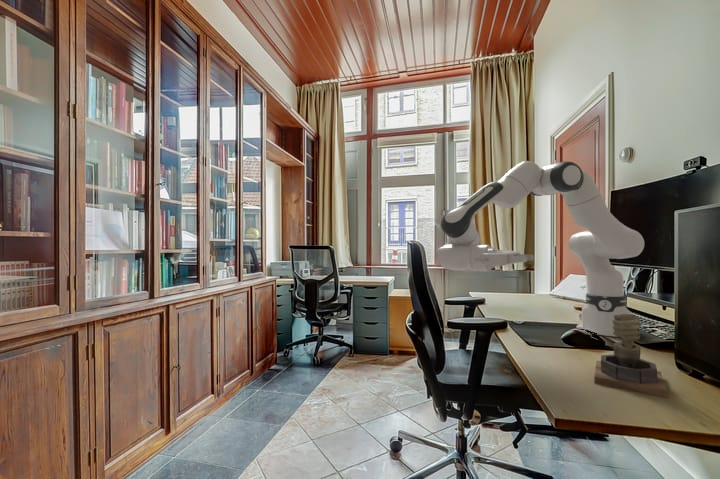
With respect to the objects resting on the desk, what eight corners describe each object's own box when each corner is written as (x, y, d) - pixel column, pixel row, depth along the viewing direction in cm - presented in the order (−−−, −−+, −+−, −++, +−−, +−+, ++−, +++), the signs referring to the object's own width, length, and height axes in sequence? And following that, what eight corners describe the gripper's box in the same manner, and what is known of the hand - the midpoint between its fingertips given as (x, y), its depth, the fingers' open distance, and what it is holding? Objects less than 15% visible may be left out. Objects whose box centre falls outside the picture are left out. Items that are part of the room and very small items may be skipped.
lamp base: (596, 366, 88) (596, 350, 88) (660, 377, 80) (660, 359, 80) (594, 382, 78) (593, 364, 78) (667, 397, 70) (666, 377, 70)
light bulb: (648, 380, 75) (646, 316, 76) (621, 378, 77) (620, 316, 77) (633, 371, 81) (631, 312, 81) (608, 369, 82) (607, 311, 82)
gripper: (472, 249, 98) (521, 248, 89) (492, 247, 114) (535, 247, 105) (473, 269, 98) (522, 271, 89) (493, 265, 114) (536, 266, 105)
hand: (529, 258), depth 97 cm, fingers open, 8 cm apart
